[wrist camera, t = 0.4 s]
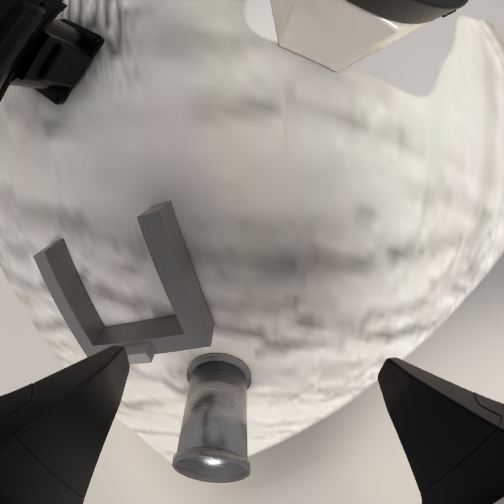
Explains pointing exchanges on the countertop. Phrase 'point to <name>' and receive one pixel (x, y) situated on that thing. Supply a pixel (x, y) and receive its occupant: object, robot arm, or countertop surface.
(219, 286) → the countertop surface
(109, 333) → the u-shaped bracket
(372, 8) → the jar
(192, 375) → the dark grey flanged cylinder
